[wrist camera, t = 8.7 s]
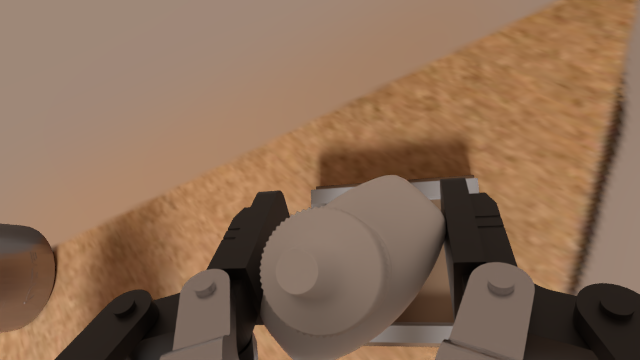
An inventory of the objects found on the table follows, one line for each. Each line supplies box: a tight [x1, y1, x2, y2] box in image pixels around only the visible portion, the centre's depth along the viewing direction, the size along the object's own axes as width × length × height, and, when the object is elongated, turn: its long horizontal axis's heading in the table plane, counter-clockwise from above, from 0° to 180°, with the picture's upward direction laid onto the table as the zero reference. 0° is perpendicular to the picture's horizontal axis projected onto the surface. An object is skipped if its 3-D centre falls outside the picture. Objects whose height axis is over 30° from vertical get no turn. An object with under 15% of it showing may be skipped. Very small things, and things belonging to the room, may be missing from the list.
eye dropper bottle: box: [259, 175, 447, 360], centre depth 12 cm, size 4×6×12 cm
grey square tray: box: [311, 175, 479, 347], centre depth 27 cm, size 11×11×3 cm
